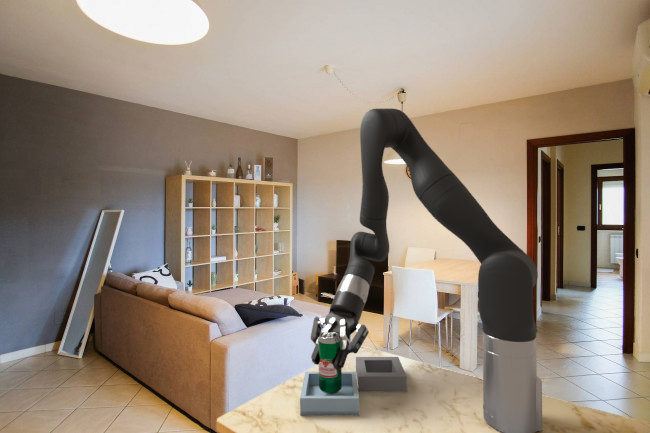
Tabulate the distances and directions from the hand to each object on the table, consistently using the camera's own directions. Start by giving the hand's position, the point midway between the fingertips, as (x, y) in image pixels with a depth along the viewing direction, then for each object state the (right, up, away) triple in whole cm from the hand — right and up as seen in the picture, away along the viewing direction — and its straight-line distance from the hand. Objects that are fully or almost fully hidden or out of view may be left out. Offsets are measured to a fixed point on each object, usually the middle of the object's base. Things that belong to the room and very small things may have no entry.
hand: (325, 365), depth 76 cm
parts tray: (+1, -8, +2) cm, 8 cm away
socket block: (+13, -8, +10) cm, 18 cm away
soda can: (+1, -6, +2) cm, 6 cm away
